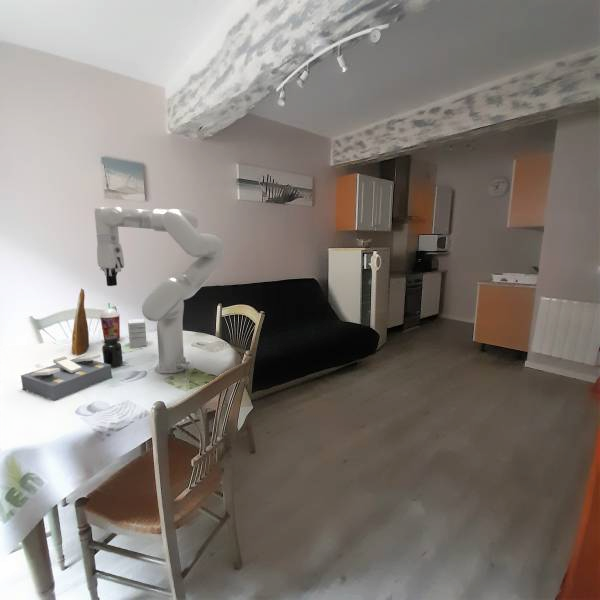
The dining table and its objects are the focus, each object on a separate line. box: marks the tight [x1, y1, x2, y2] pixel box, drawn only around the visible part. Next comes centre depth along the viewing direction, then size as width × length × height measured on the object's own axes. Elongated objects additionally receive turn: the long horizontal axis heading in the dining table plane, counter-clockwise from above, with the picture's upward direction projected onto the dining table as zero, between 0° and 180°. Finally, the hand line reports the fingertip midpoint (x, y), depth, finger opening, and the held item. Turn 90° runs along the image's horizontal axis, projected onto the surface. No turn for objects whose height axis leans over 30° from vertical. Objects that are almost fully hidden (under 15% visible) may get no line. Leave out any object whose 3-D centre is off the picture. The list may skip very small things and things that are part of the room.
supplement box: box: [127, 318, 148, 349], centre depth 156 cm, size 7×7×13 cm
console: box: [20, 356, 113, 401], centre depth 116 cm, size 18×20×6 cm
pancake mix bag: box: [71, 288, 90, 356], centre depth 147 cm, size 7×19×28 cm, turn 25°
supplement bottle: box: [101, 336, 124, 369], centre depth 132 cm, size 7×7×12 cm
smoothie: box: [99, 302, 121, 342], centre depth 160 cm, size 8×8×20 cm
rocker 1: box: [31, 367, 60, 376], centre depth 109 cm, size 10×4×1 cm, turn 66°
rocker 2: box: [53, 356, 82, 373], centre depth 115 cm, size 10×4×1 cm, turn 66°
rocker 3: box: [73, 354, 101, 362], centre depth 122 cm, size 10×4×1 cm, turn 66°
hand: (112, 285), depth 130 cm, fingers closed
